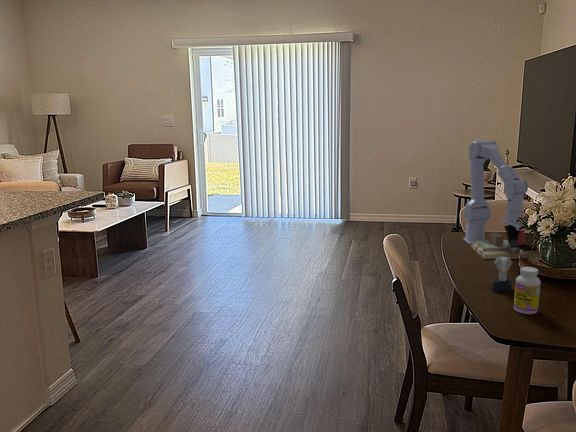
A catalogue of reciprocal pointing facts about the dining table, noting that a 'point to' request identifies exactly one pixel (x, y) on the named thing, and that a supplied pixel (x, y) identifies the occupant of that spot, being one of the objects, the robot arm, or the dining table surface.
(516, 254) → the picture frame
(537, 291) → the supplement bottle
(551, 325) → the dining table surface
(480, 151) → the robot arm
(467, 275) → the dining table surface
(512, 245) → the latch bolt
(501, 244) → the cover
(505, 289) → the white and black piece
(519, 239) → the beer can
